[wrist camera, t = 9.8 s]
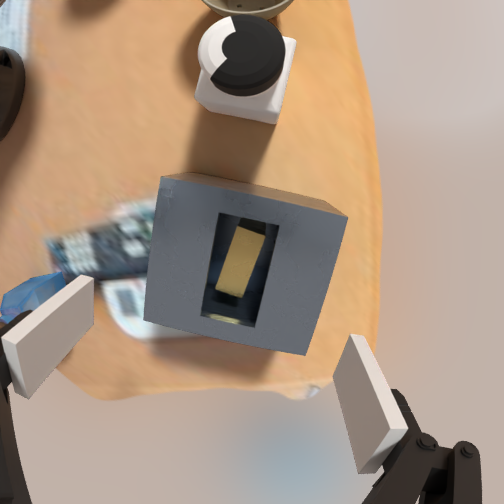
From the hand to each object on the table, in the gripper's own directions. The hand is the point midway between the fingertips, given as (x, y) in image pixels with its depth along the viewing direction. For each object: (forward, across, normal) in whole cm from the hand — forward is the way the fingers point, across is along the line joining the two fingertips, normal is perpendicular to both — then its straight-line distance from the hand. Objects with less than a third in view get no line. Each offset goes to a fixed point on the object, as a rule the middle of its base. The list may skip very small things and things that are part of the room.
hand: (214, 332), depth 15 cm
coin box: (+20, +1, 0) cm, 20 cm away
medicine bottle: (+20, -2, +16) cm, 25 cm away
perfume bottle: (+20, -23, -14) cm, 34 cm away
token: (+19, +1, -1) cm, 19 cm away
